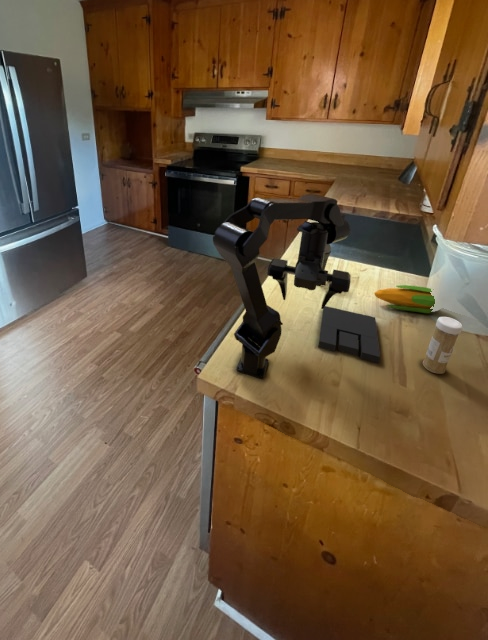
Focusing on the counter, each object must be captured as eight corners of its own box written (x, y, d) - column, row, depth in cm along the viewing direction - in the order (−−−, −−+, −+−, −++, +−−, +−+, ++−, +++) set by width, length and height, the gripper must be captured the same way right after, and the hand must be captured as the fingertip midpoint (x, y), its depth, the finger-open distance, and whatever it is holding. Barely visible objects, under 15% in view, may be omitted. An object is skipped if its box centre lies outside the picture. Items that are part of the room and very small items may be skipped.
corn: (456, 296, 95) (380, 287, 99) (449, 319, 97) (375, 310, 102) (444, 285, 102) (373, 277, 106) (437, 307, 104) (369, 298, 109)
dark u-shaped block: (378, 363, 81) (380, 357, 80) (318, 347, 86) (319, 340, 85) (373, 322, 96) (375, 317, 95) (322, 311, 101) (323, 305, 101)
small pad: (357, 355, 83) (358, 349, 82) (337, 350, 85) (339, 344, 84) (356, 341, 88) (358, 335, 88) (338, 336, 90) (339, 331, 89)
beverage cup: (300, 275, 123) (308, 224, 115) (316, 272, 125) (325, 223, 117) (312, 284, 116) (322, 232, 109) (329, 281, 118) (340, 229, 111)
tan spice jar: (445, 377, 77) (464, 330, 72) (421, 369, 79) (438, 323, 74) (444, 365, 80) (462, 320, 75) (421, 358, 83) (437, 313, 77)
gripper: (265, 252, 75) (259, 310, 81) (356, 269, 67) (341, 331, 73) (275, 236, 84) (268, 289, 90) (355, 250, 77) (343, 306, 83)
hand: (302, 303), depth 84 cm, fingers open, 9 cm apart
